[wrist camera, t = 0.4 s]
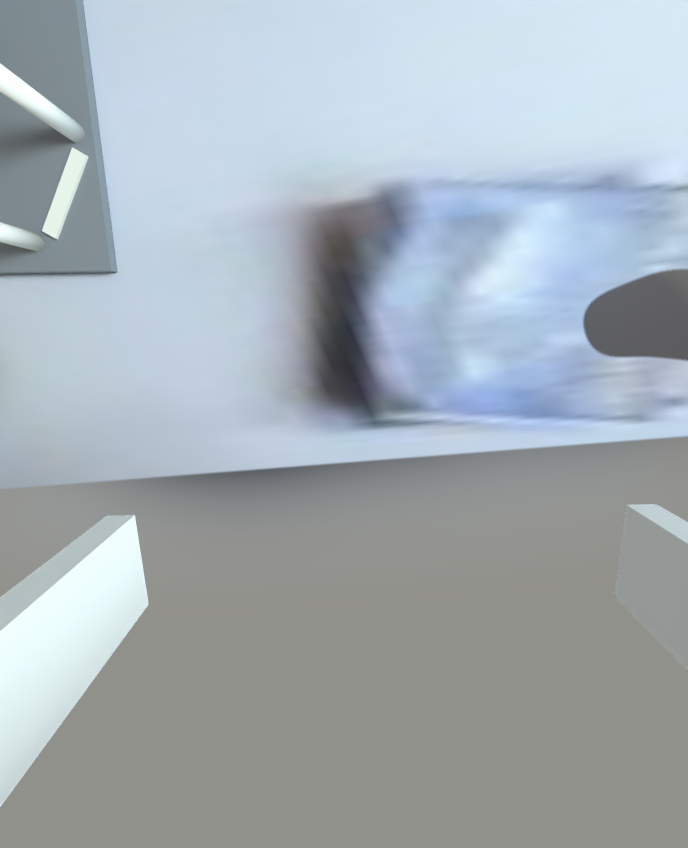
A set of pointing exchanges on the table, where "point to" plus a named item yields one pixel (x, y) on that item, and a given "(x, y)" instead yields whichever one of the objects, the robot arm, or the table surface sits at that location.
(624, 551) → the robot arm
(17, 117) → the stand
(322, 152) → the table surface
